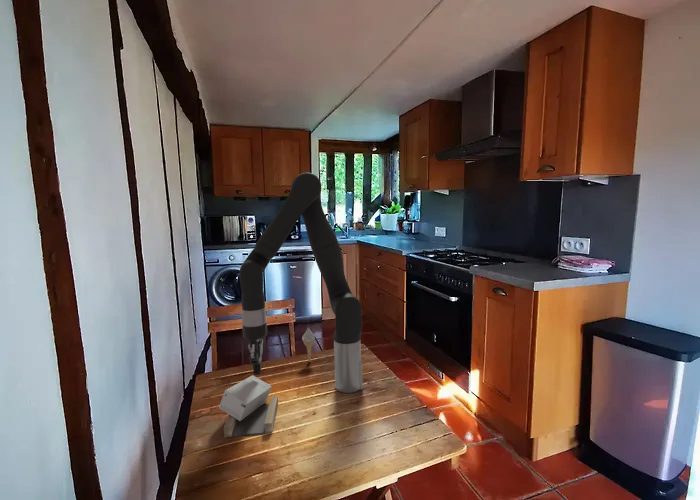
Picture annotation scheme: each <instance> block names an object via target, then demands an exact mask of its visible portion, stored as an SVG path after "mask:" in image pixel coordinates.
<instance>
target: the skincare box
mask: <svg viewBox="0 0 700 500" xmlns="http://www.w3.org/2000/svg"><path fill="white" fill-rule="evenodd" d="M272 388H273V387H272V386H271V385H270V384H269V383H267V382H265V381H263V380H261V378H258V377H257V376H255V375H254V374H252V375H251V376H249V377H247V378H244V379H243V380H242V381H240V382H238V383H236V384H234V385H232V386H231V387H229V388H227V389H225V390H224V392H223V395H222V398H221V401H220V403H219V406H218V409H220V410H221V411H224V413H226V414H228V416H229V415H231V416H232V417H234V418H236V419H237V420H239V421H241V420H243V419H244V418H245V417H247V416H248V415H249V414H250V413H252V412H253V411H254V410H256V409H257V408H258V407H260V406H261V405H265V403H266V402H267V400H268V397H269V395H270V393H271V390H272Z"/></svg>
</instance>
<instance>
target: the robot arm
mask: <svg viewBox="0 0 700 500" xmlns="http://www.w3.org/2000/svg"><path fill="white" fill-rule="evenodd" d="M321 192H322V183H321V180H320V178H319V177H318V176H317V175H316V174H314V173H311V172H303V173H300V174H298V175H297V176H296V177H294V178H293V180H292V182H291V184H290V191H289V194H288V196H287V198H286V200H285V201H284V203H283V205H282V206H281V208H280V209H279V210H278V213H277V214H276V215H275V216H274V218H273V219H272V220H271V222H270V223H269V224H268V226H267V227H266V228H265V230H264V231H263V233H262V234H261V235H260V237H259V238H258V240H257V242H256V243H255V245H254V247H253V249H252V250H251V252H250V253H249V254H248V255H247V257H246V258H245V260H244V261H243V263H242V264H241V266H240V268H239V273H238V274H239V275H238V276H239V283H240V289H241V290H240V292H241V309H242V310H241V324H242V338H244V339H245V340H248V341H249V343H248V345H247V347H248V350H249V352H248V353H247V357H248V360H249V363H250V365H252V368H253V369H252V371H253V376H255V375H256V376H257V375H261V373H262V357H263V351H264V350H263V345H264V339H263V338H265V337H266V336H267V335H268V322H267V311H266V299H265V298H266V297H265V292H264V272H265V270H266V269H267V267H268V265H269V264H270V263H271V260H273V258H274V257H276V255H277V254H278V252H279V251H280V249H281V248H282V246H283V244H284V243H285V241H286V240H287V238H288V237H289V235H290V233H291V231H292V230H293V228H294V227H295V225H296V223H297V222H298V221H299V219H300V218H301V217H302V219H303V222H304V226H305V231H306V235H307V238H308V243H309V244H310V249H311V252H312V254H313V258H314V260H315V263H316V265H317V268H318V270H319V272H320V274H321V276H322V278H323V281H324V284H325V286H326V290H327V294H328V298H329V303H330V308H331V311H332V313H333V314H334V315H335V330H334V331H333V351H334V352H333V353H334V355H333V356H334V383H335V384H334V385H335V390H336V391H338V392H341V393H344V394H346V393H347V394H351V393H352V394H353V393H356V392H357V391H362V390H363V387H364V386H363V363H362V352H361V351H362V350H361V349H362V348H361V344H362V343H361V342H362V341H361V335H362V330H363V307H362V303H361V301H360V299H359V298H357V297H356V296H355V295H353V293H352V290H351V289H350V286H349V283H348V281H347V278H346V275H345V267H344V266H345V265H344V259H343V253H342V250H341V246H340V243H339V241H338V238H337V235H336V233H335V231H334V229H333V227H332V226H331V224H330V222H329V220H328V218H327V216H326V214H325V212H324V210H323V205H322V202H321V197H320V195H321Z"/></svg>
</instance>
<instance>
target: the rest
mask: <svg viewBox="0 0 700 500" xmlns="http://www.w3.org/2000/svg"><path fill="white" fill-rule="evenodd" d="M278 407H279V399H278V395H273V396H272V395H271V397H270V400H269V404H268V403H267V404H262V405H261V406H260V407H258V408H257V409H256V410H254V411H253V412H252V413H250V414H249V415H248V416H247V417H245V418H244V419H243V420H241V421H239V420H237V419H236V418H234V417H232V416H231V415H229V414H228V416H227V419H226V421H225V423H224V425H223V435H224V436H223V437H224V438H231V437H242V436H243V437H245V436H255V435H265V434H266V435H268V434H273V432H274V428H275V421H276V417H277V413H278Z"/></svg>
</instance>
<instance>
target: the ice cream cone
mask: <svg viewBox="0 0 700 500" xmlns="http://www.w3.org/2000/svg"><path fill="white" fill-rule="evenodd" d="M301 339H302V343H303V345H304V346H305V347H306V351H307V357H308V362H309V363H310V362H311V361H312V359H311V358H312V348H313V345H314V344H315V341H316V335H315V334H314V332H313V331H311V329H310V327H309V326H308V327H307V329H306V331H305V332H304V334H303V335H302V337H301Z"/></svg>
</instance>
